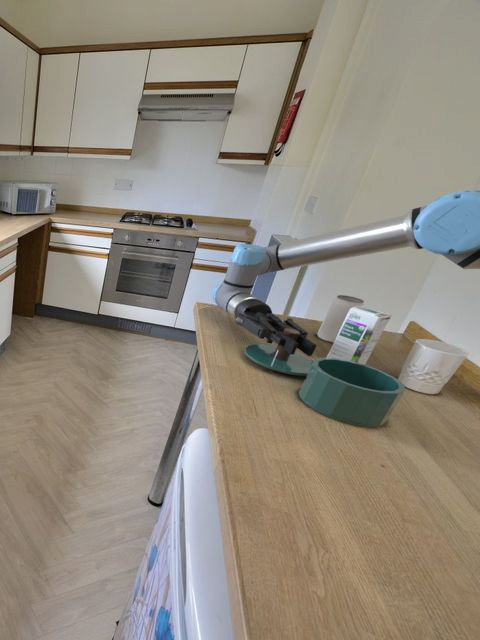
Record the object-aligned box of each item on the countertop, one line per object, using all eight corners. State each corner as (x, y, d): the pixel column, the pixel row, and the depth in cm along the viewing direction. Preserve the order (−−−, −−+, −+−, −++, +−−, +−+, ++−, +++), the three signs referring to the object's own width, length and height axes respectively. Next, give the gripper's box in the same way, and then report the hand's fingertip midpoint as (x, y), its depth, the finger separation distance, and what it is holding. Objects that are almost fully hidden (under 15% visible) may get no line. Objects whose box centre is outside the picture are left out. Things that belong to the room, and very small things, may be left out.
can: (325, 342, 112) (345, 301, 106) (311, 333, 117) (329, 293, 112) (351, 345, 111) (372, 303, 106) (336, 335, 117) (355, 295, 111)
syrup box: (322, 362, 101) (349, 307, 94) (336, 358, 103) (363, 304, 96) (349, 373, 96) (379, 316, 90) (363, 369, 98) (393, 313, 92)
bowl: (383, 406, 83) (401, 374, 80) (386, 436, 74) (407, 402, 71) (302, 381, 91) (316, 351, 88) (295, 405, 82) (310, 373, 79)
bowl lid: (318, 362, 98) (333, 331, 95) (314, 385, 88) (330, 351, 85) (249, 343, 107) (260, 314, 103) (237, 361, 97) (249, 330, 93)
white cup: (393, 373, 97) (416, 335, 92) (441, 387, 92) (467, 347, 87) (392, 385, 92) (415, 345, 87) (442, 400, 87) (470, 359, 82)
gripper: (275, 326, 112) (334, 368, 91) (214, 321, 113) (259, 361, 92) (285, 300, 109) (350, 337, 88) (223, 295, 110) (271, 331, 89)
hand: (303, 349), depth 90 cm, fingers closed on bowl lid, 3 cm apart
